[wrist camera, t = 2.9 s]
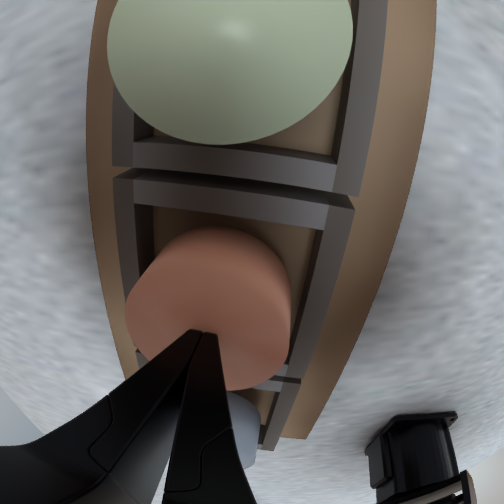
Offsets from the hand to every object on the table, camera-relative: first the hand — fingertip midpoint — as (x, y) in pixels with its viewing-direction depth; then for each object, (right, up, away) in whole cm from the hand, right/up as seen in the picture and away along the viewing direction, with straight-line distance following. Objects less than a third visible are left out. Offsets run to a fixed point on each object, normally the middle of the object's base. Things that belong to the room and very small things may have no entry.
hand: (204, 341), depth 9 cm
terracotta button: (0, +1, +2) cm, 3 cm away
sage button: (+1, +8, -2) cm, 8 cm away
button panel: (+1, +3, +5) cm, 6 cm away
